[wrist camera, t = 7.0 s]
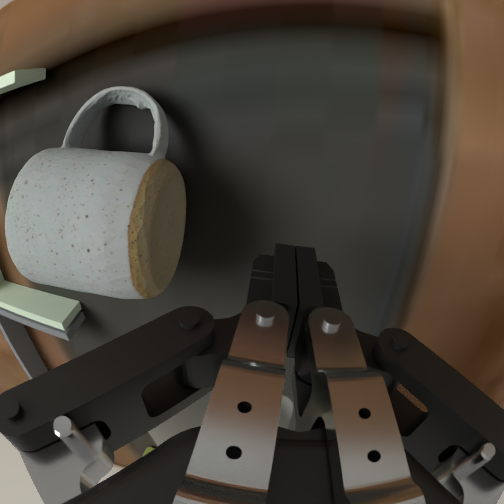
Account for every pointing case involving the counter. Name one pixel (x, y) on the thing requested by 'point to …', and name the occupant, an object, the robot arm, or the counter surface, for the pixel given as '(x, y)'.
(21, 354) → the corral charcoal
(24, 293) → the corral green
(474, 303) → the counter surface
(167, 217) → the ceramic mug
